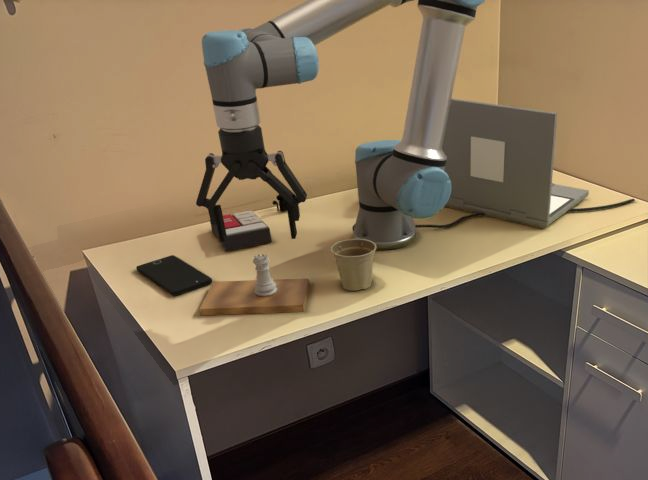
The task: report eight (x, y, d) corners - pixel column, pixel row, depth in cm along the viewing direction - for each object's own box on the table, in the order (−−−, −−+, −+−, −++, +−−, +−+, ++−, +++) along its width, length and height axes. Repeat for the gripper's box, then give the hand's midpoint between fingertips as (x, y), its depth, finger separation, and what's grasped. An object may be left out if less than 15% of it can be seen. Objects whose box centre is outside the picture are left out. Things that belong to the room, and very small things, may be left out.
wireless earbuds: (275, 214, 180) (272, 196, 177) (270, 212, 182) (268, 193, 179) (298, 208, 184) (296, 190, 181) (293, 206, 186) (291, 188, 183)
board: (309, 284, 145) (309, 278, 145) (304, 311, 135) (303, 304, 135) (214, 287, 144) (213, 281, 143) (201, 315, 134) (199, 308, 133)
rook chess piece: (282, 290, 140) (276, 254, 136) (268, 299, 137) (262, 262, 132) (264, 285, 142) (258, 250, 137) (250, 294, 138) (244, 258, 134)
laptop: (587, 199, 189) (599, 92, 174) (546, 231, 170) (555, 113, 155) (479, 178, 205) (481, 78, 190) (430, 204, 186) (428, 96, 171)
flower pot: (335, 275, 149) (331, 239, 144) (379, 274, 150) (376, 237, 145) (333, 295, 141) (329, 257, 136) (378, 294, 142) (376, 255, 137)
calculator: (252, 208, 174) (269, 224, 162) (255, 224, 176) (272, 242, 164) (208, 216, 169) (222, 233, 158) (212, 232, 171) (226, 251, 160)
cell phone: (173, 258, 157) (172, 254, 156) (213, 282, 146) (212, 278, 145) (136, 270, 151) (135, 266, 151) (174, 296, 141) (173, 292, 140)
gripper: (162, 135, 118) (189, 248, 129) (307, 130, 119) (321, 242, 130) (173, 123, 124) (198, 232, 135) (311, 119, 125) (325, 227, 137)
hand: (259, 237), depth 133 cm, fingers open, 13 cm apart
